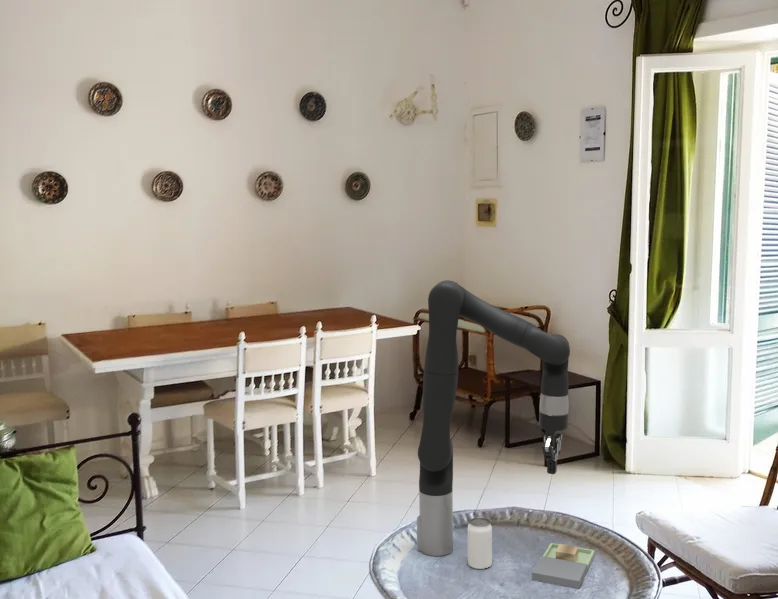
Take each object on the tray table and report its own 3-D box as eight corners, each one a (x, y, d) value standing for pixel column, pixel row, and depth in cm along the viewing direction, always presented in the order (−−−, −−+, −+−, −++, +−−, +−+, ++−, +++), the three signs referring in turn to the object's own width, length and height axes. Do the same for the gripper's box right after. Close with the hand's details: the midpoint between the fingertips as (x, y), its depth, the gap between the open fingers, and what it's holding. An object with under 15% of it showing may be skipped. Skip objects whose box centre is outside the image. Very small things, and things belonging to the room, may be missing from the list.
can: (491, 570, 214) (490, 527, 213) (466, 569, 216) (466, 525, 214) (492, 559, 221) (492, 517, 219) (468, 558, 222) (468, 515, 220)
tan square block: (555, 561, 218) (555, 551, 217) (559, 554, 222) (559, 543, 222) (574, 565, 215) (574, 554, 215) (578, 557, 220) (578, 546, 220)
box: (542, 562, 218) (542, 557, 218) (550, 547, 227) (550, 542, 227) (587, 570, 213) (587, 565, 213) (594, 555, 222) (594, 550, 222)
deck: (531, 579, 209) (531, 572, 209) (541, 563, 218) (541, 556, 218) (578, 588, 204) (579, 581, 204) (587, 571, 213) (587, 564, 213)
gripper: (546, 402, 223) (544, 463, 226) (533, 414, 212) (531, 478, 214) (574, 405, 220) (571, 467, 223) (561, 418, 208) (559, 483, 211)
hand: (551, 473), depth 218 cm, fingers closed
